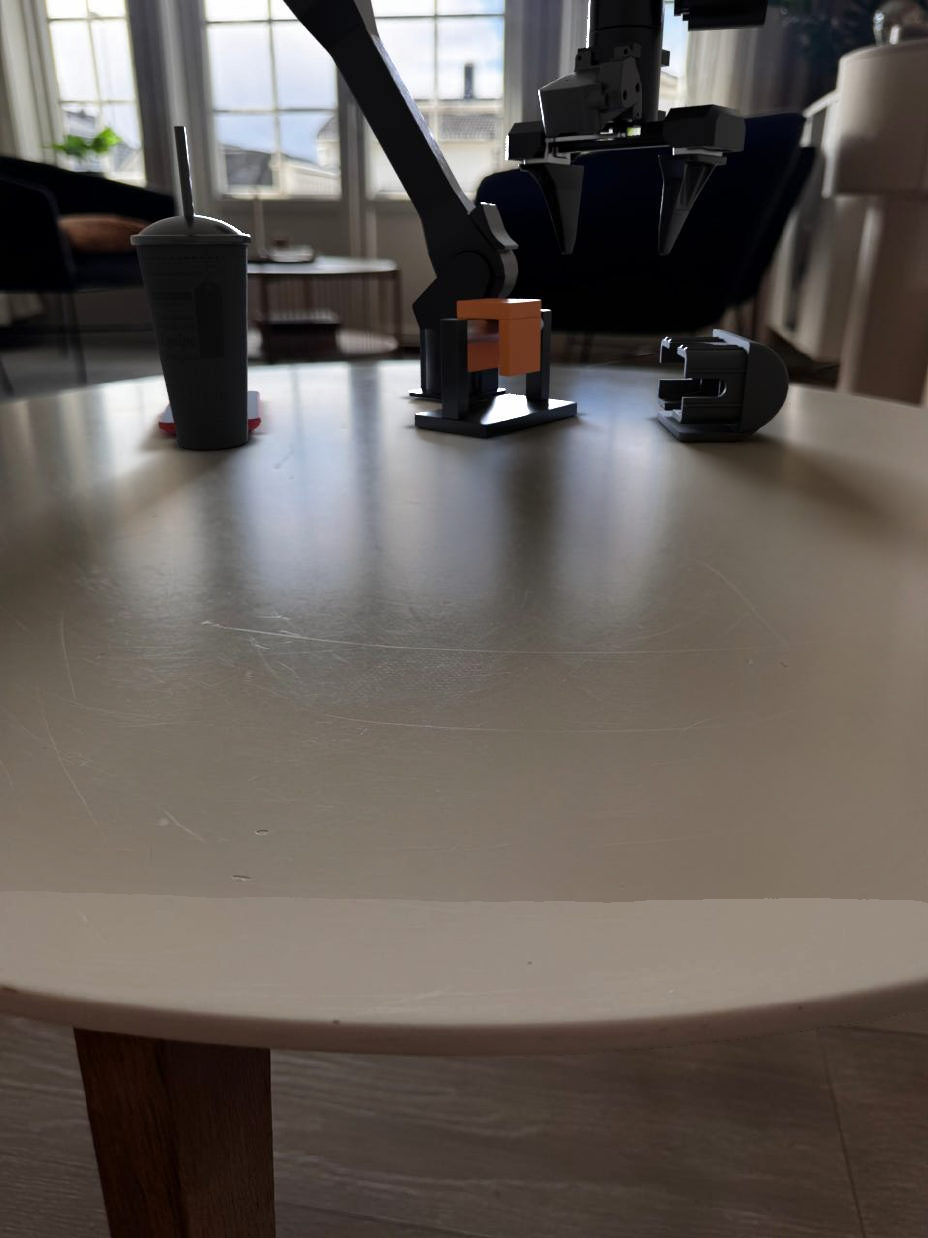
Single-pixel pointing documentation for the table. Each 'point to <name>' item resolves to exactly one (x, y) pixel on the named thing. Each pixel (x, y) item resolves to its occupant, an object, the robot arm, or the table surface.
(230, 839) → the table surface
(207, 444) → the drinking cup
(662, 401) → the end cap
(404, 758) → the table surface
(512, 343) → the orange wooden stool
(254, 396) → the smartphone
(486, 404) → the rack
